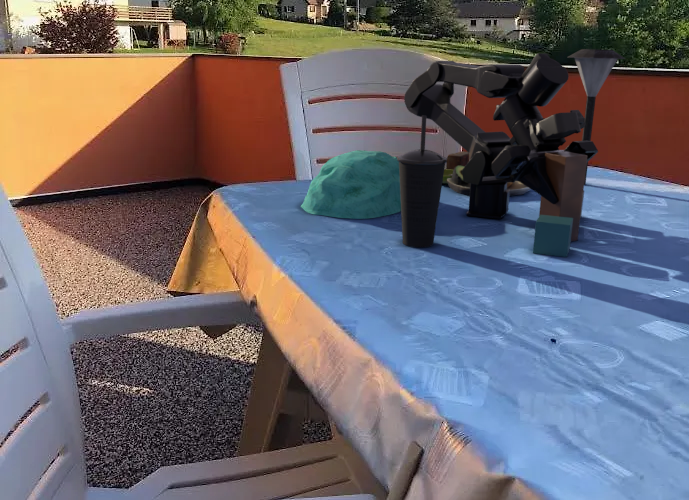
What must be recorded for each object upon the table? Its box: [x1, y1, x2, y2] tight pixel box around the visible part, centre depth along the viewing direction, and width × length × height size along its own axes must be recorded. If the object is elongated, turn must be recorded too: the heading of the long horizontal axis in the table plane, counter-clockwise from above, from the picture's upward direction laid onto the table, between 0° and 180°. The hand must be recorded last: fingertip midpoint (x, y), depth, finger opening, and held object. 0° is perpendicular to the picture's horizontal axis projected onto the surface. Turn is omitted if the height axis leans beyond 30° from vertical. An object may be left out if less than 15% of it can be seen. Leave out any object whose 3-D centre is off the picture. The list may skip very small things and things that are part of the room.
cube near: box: [532, 215, 573, 258], centre depth 109 cm, size 5×5×5 cm
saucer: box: [442, 168, 453, 185], centre depth 163 cm, size 9×9×2 cm
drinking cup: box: [396, 116, 447, 248], centre depth 109 cm, size 8×8×20 cm
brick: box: [445, 150, 469, 170], centre depth 176 cm, size 11×4×5 cm, turn 149°
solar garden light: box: [567, 48, 626, 186], centre depth 160 cm, size 12×12×30 cm
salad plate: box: [447, 165, 532, 197], centre depth 156 cm, size 19×18×5 cm
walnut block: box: [538, 151, 587, 242], centre depth 115 cm, size 5×5×14 cm
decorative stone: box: [300, 149, 401, 220], centre depth 139 cm, size 21×27×10 cm
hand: (567, 201), depth 114 cm, fingers closed on walnut block, 5 cm apart
